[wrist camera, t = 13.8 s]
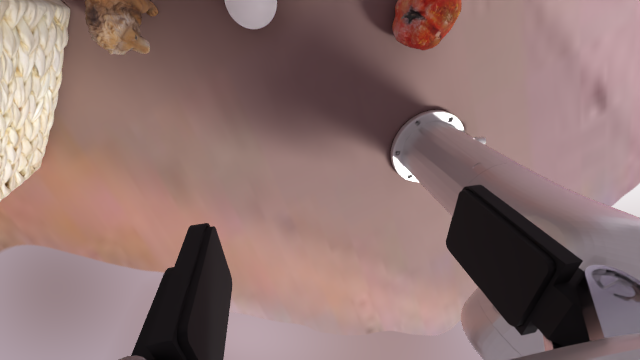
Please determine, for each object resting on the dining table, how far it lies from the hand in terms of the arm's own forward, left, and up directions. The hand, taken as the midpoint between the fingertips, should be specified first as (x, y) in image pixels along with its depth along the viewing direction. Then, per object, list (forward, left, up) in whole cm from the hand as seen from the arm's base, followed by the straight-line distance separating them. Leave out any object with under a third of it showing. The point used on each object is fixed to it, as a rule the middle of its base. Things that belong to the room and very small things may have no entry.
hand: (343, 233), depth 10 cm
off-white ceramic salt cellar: (+3, -9, -30) cm, 32 cm away
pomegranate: (-17, -7, -31) cm, 36 cm away
